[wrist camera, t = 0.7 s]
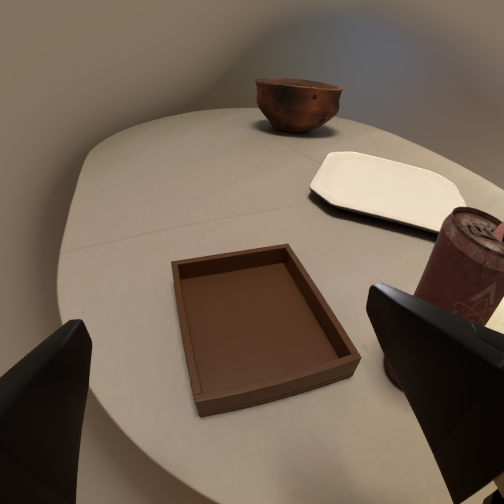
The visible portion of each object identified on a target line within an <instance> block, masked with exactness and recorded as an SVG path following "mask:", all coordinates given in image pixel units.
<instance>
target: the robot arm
mask: <svg viewBox="0 0 504 504" xmlns="http://www.w3.org/2000/svg"><path fill="white" fill-rule="evenodd" d="M366 311H367V314H368V317H369V319H370V321H371V324H372V326H373V329H374V331H375V334H376V336H377V339H378V341H379V344H380V346H381V348H382V350H383V352H384V354H385V356H386V358H387V360H388V362H389V364H390V366H391V368H392V370H393V372H394V374H395V376H396V378H397V379H398V381H399V383H400V385H401V387H402V389H403V391H404V393H405V395H406V397H407V399H408V401H409V403H410V405H411V407H412V410H413V412H414V414H415V416H416V418H417V420H418V422H419V424H420V426H421V428H422V431H423V433H424V435H425V437H426V439H427V441H428V444H429V446H430V448H431V450H432V453H433V454H434V458H435V460H436V462H437V464H438V467H439V469H440V471H441V474H442V476H443V479H444V481H445V483H446V486H447V488H448V491H449V493H450V496H451V498H452V501H453V503H454V504H460V503H462V502H463V501H465V500H466V499H468V498H469V497H471V496H472V495H474V494H475V493H477V492H478V491H479V490H481V489H482V488H483V487H485V486H486V485H488V484H489V483H490V482H491V481H494V483H495V484H496V486H497V488H498V489H497V490H495V491H494V492H493V493H492V494H490V495H489V496H488V497H486V498H485V499H484V501H483V504H504V334H502V333H499V332H497V331H494V330H491V329H489V328H487V327H484V326H482V325H480V324H477V323H475V322H473V321H470V320H468V319H466V318H464V317H461V316H459V315H457V314H454V313H452V312H450V311H447V310H445V309H443V308H440V307H438V306H436V305H433V304H431V303H429V302H426V301H424V300H422V299H419V298H417V297H415V296H412V295H410V294H408V293H405V292H403V291H400V290H398V289H396V288H393V287H391V286H389V285H386V284H384V283H379V284H374V285H372V286H371V287H370V289H369V294H368V300H367V305H366ZM91 354H92V340H91V338H90V335H89V333H88V331H87V329H86V326H85V324H84V322H83V321H82V320H81V319H76V320H69V321H68V322H67V323H65V324H64V325H63V326H62V327H60V328H59V329H58V330H57V331H55V332H54V333H53V334H52V335H50V336H49V337H48V338H47V339H45V341H43V342H42V343H41V344H39V345H38V346H37V347H36V348H34V349H33V350H32V351H31V352H30V353H28V354H27V355H26V356H25V357H24V358H23V359H21V360H20V361H19V362H18V363H17V364H15V365H14V366H13V367H12V368H11V369H10V370H8V371H7V372H6V373H5V374H4V375H3V376H1V377H0V504H76V487H77V472H78V460H79V450H80V441H81V433H82V425H83V419H84V412H85V406H86V399H87V393H88V387H89V376H90V364H91Z"/></svg>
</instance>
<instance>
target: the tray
mask: <svg viewBox="0 0 504 504" xmlns="http://www.w3.org/2000/svg"><path fill="white" fill-rule="evenodd" d="M171 265H172V272H173V280H174V287H175V294H176V301H177V308H178V314H179V321H180V327H181V333H182V338H183V344H184V350H185V355H186V361H187V366H188V371H189V376H190V381H191V386H192V391H193V395H194V400H195V404H196V407H197V410H198V413H199V416H200V417H203V416H208V415H213V414H219V413H223V412H228V411H233V410H237V409H242V408H246V407H251V406H255V405H259V404H263V403H267V402H270V401H274V400H278V399H282V398H285V397H289V396H292V395H295V394H299V393H302V392H305V391H309V390H312V389H315V388H318V387H321V386H324V385H327V384H330V383H333V382H336V381H339V380H342V379H344V378H347V377H350V376H352V375H353V374H354V371H355V370H356V368H357V366H358V364H359V362H360V360H361V356H360V354H359V353H358V351H357V350H356V348H355V346H354V345H353V343H352V342H351V340H350V338H349V337H348V335H347V334H346V332H345V330H344V329H343V327H342V326H341V324H340V322H339V321H338V319H337V318H336V316H335V315H334V313H333V311H332V310H331V308H330V307H329V305H328V304H327V302H326V301H325V299H324V297H323V296H322V294H321V293H320V291H319V290H318V288H317V287H316V285H315V284H314V282H313V281H312V279H311V277H310V276H309V274H308V273H307V271H306V270H305V268H304V267H303V265H302V264H301V262H300V261H299V259H298V258H297V256H296V255H295V253H294V252H293V250H292V249H291V247H290V246H289V244H283V245H276V246H270V247H263V248H257V249H250V250H244V251H237V252H231V253H224V254H218V255H211V256H205V257H198V258H192V259H185V260H179V261H172V262H171Z"/></svg>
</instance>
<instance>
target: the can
mask: <svg viewBox="0 0 504 504" xmlns="http://www.w3.org/2000/svg"><path fill="white" fill-rule="evenodd" d="M413 296H415V297H417V298H419V299H422V300H424V301H426V302H429V303H431V304H433V305H436V306H438V307H440V308H443V309H445V310H447V311H450V312H452V313H454V314H457V315H459V316H461V317H464V318H466V319H468V320H470V321H473V322H475V323H477V324H480V325H482V326H485V325H486V323H487V322H488V320H489V319H490V317H491V316H492V314H493V313H494V311H495V310H496V308H497V306H498V305H499V303H500V302H501V300H502V298H503V297H504V222H501V221H500V220H498V219H497V218H495V217H493V216H492V215H490V214H488V213H486V212H483V211H481V210H478V209H475V208H470V207H457V208H454V209H453V211H452V213H451V214H450V215H448V216H447V217H446V218H445V220H444V221H443V223H442V226H441V229H440V232H439V235H438V237H437V240H436V243H435V245H434V248H433V250H432V253H431V256H430V258H429V261H428V263H427V265H426V268H425V270H424V273H423V275H422V277H421V280H420V282H419V284H418V286H417V289H416V291H415V293H414V295H413ZM385 363H386V368H387V370H388V372H389V374H390V377H391V378H392V379H393V380H394V381H395V383H396V384H397V385H399V386H400V387H401V385H400V383H399V381H398V379H397V378H396V376H395V374H394V372H393V370H392V368H391V366H390V364H389V362H388V360H387V358H386V356H385Z"/></svg>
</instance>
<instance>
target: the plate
mask: <svg viewBox="0 0 504 504" xmlns="http://www.w3.org/2000/svg"><path fill="white" fill-rule="evenodd" d="M309 187H310V190H311V191H312V192H314V193H315V194H316V195H318V196H319V197H320V198H322V199H323V200H324V201H326V202H327V203H328V204H330V205H331V206H334V207H336V208H340V209H343V210H347V211H350V212H355V213H359V214H363V215H367V216H371V217H375V218H379V219H383V220H387V221H391V222H395V223H399V224H403V225H406V226H410V227H414V228H418V229H421V230H425V231H428V232H432V233H435V234H439V232H440V229H441V226H442V223H443V221H444V220H445V218H446V217H447V216H448V215H450V214H451V213H452V211H453V209H454V208H457V207H467V205H466V203H465V201H464V199H463V198H462V196H461V194H460V192H459V191H458V189H457V187H456V185H455V184H454V183H452V182H451V181H449V180H447V179H445V178H444V177H442V176H440V175H438V174H437V173H434V172H432V171H428V170H425V169H421V168H418V167H414V166H410V165H407V164H403V163H399V162H395V161H391V160H387V159H383V158H379V157H374V156H370V155H366V154H361V153H356V152H350V151H348V152H331V153H329V154H328V155H327V157H326V159H325V160H324V162H323V164H322V165H321V167H320V169H319V171H318V172H317V174H316V176H315V177H314V179H313V181H312V182H311V184H310V186H309Z"/></svg>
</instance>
